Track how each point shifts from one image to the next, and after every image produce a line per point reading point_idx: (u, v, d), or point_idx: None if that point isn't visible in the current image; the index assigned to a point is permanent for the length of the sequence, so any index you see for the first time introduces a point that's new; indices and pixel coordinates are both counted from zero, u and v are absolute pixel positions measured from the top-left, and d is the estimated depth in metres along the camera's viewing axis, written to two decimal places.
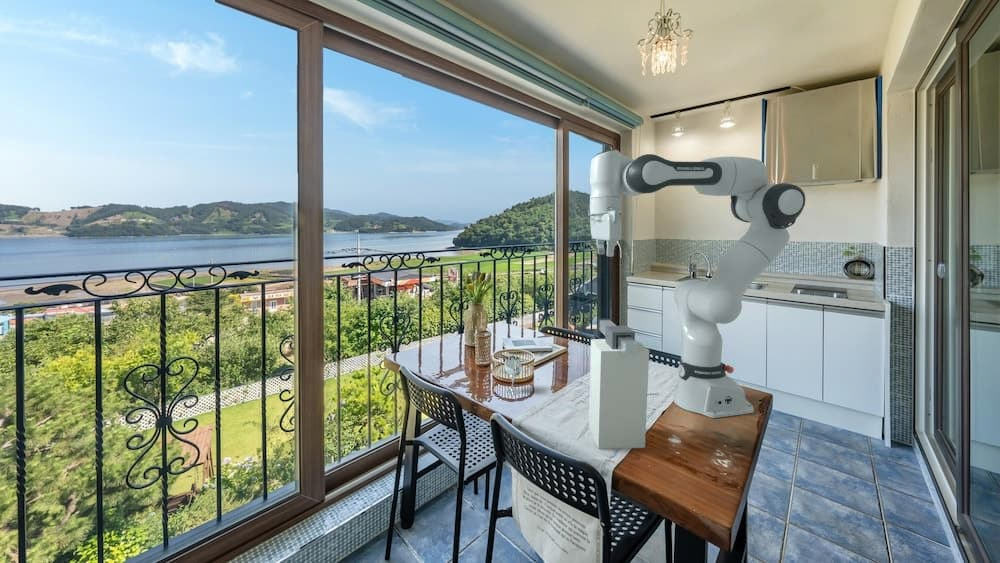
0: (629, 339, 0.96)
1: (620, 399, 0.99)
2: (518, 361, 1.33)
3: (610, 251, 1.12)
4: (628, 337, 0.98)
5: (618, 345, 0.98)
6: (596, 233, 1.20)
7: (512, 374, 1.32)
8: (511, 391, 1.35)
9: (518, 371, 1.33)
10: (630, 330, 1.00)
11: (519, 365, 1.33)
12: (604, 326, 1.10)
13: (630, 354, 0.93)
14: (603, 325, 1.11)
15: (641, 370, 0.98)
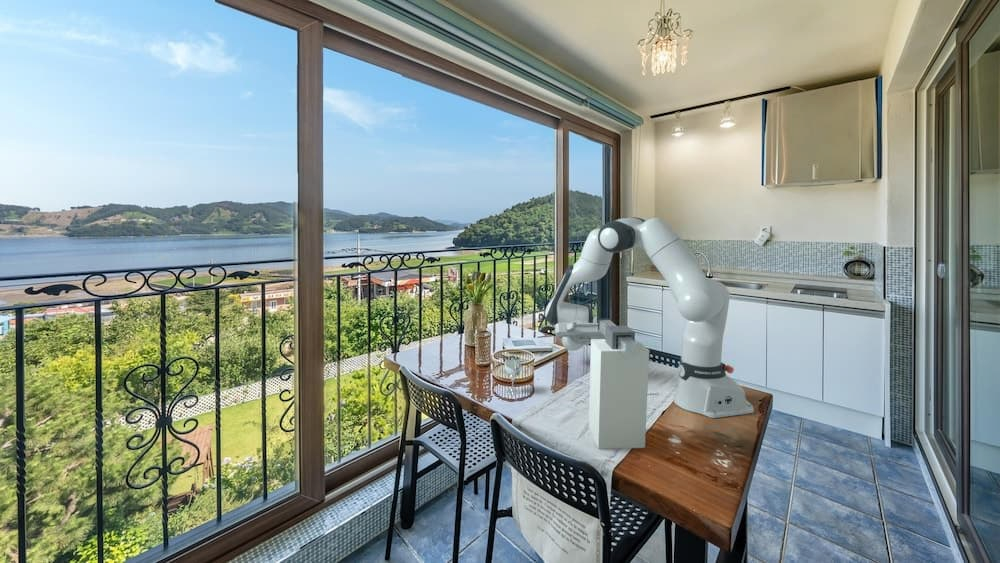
0: (629, 339, 0.96)
1: (620, 399, 0.99)
2: (518, 361, 1.33)
3: (571, 325, 1.35)
4: (628, 337, 0.98)
5: (618, 345, 0.98)
6: (593, 333, 1.40)
7: (512, 374, 1.32)
8: (511, 391, 1.35)
9: (518, 371, 1.33)
10: (630, 330, 1.00)
11: (519, 365, 1.33)
12: (604, 326, 1.10)
13: (630, 354, 0.93)
14: (603, 325, 1.11)
15: (641, 370, 0.98)
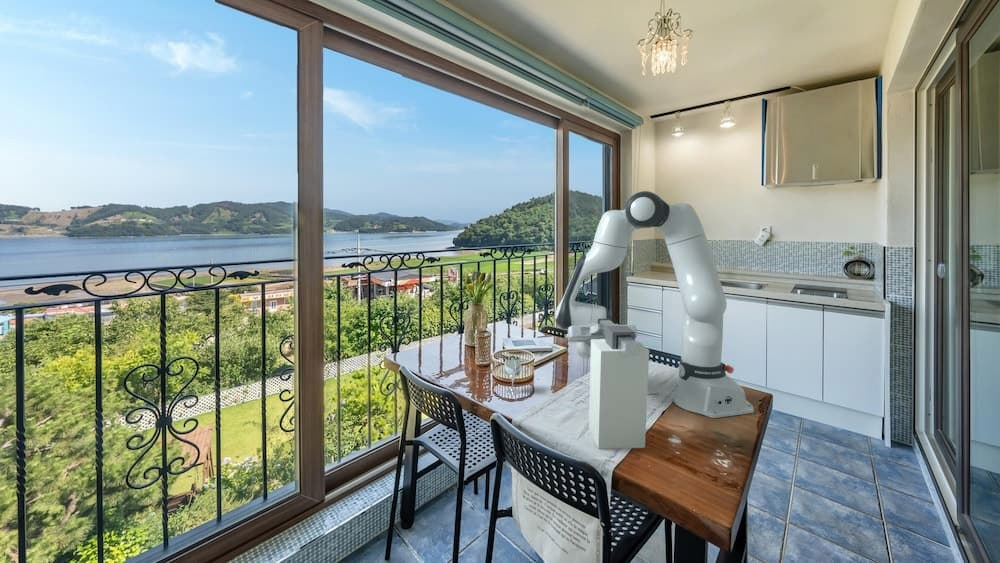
0: (629, 339, 0.96)
1: (620, 399, 0.99)
2: (518, 361, 1.33)
3: (596, 328, 1.13)
4: (628, 337, 0.98)
5: (618, 345, 0.98)
6: None
7: (512, 374, 1.32)
8: (511, 391, 1.35)
9: (518, 371, 1.33)
10: (630, 330, 1.00)
11: (519, 365, 1.33)
12: (604, 326, 1.10)
13: (630, 354, 0.93)
14: (603, 325, 1.11)
15: (641, 370, 0.98)
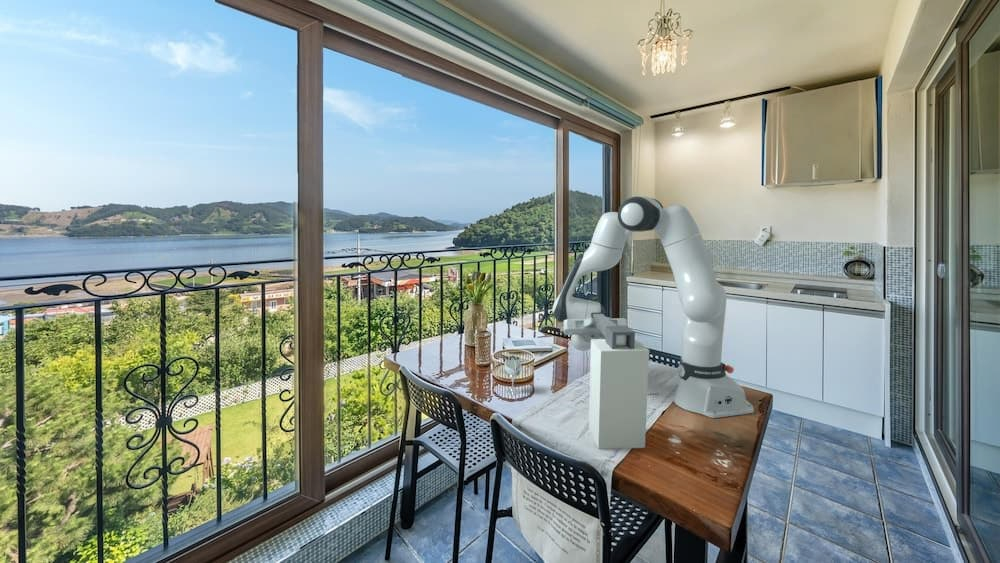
0: None
1: (620, 399, 0.99)
2: (518, 361, 1.33)
3: (589, 321, 1.21)
4: None
5: None
6: None
7: (512, 374, 1.32)
8: (511, 391, 1.35)
9: (518, 371, 1.33)
10: (630, 330, 1.00)
11: (519, 365, 1.33)
12: (596, 319, 1.18)
13: (619, 344, 1.01)
14: (596, 318, 1.19)
15: (641, 370, 0.98)
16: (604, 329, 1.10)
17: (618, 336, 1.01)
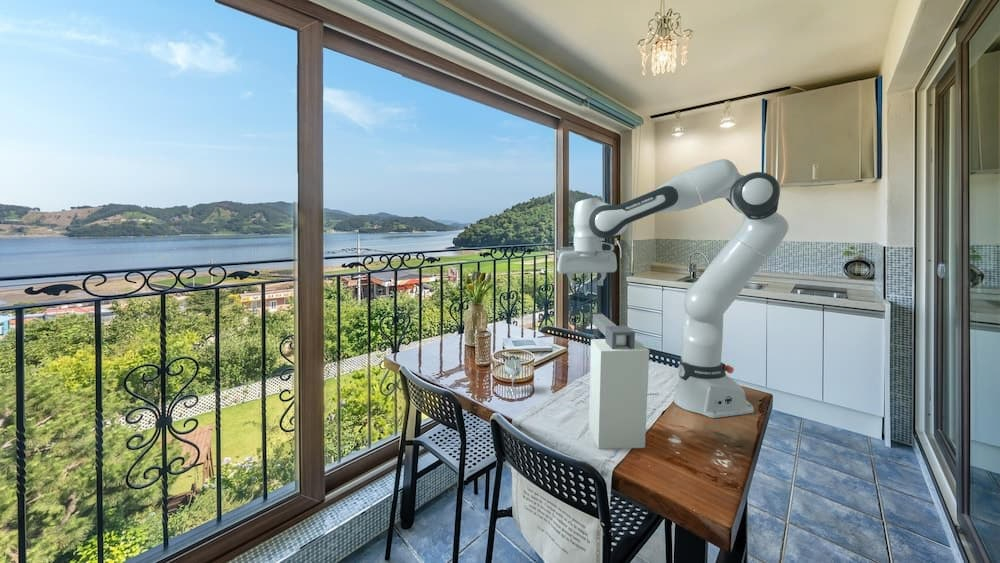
0: None
1: (620, 399, 0.99)
2: (518, 361, 1.33)
3: (571, 282, 1.37)
4: None
5: None
6: None
7: (512, 374, 1.32)
8: (511, 391, 1.35)
9: (518, 371, 1.33)
10: (630, 330, 1.00)
11: (519, 365, 1.33)
12: (596, 319, 1.18)
13: (619, 344, 1.01)
14: (596, 318, 1.19)
15: (641, 370, 0.98)
16: (604, 329, 1.10)
17: (618, 336, 1.01)
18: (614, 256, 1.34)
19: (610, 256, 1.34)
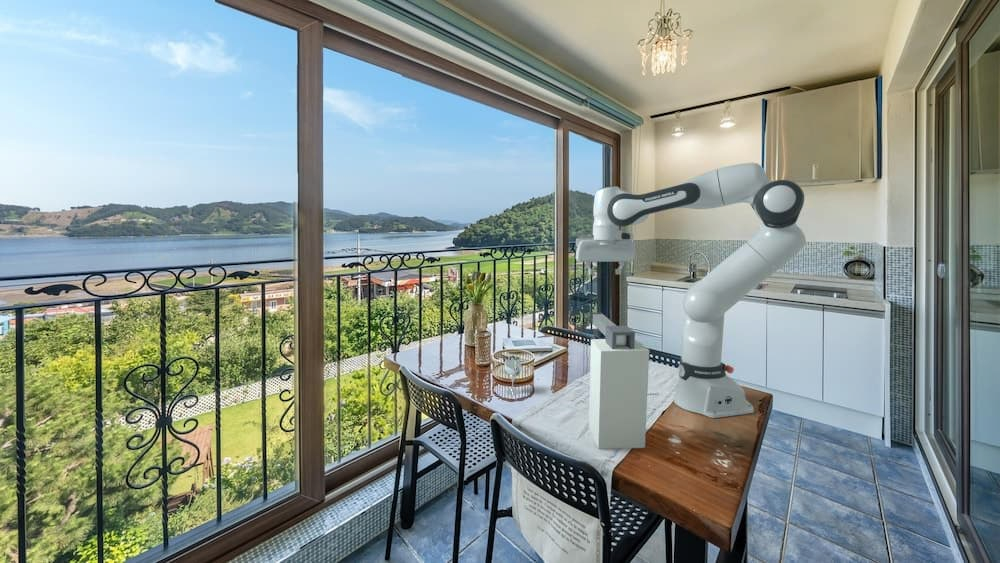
0: None
1: (620, 399, 0.99)
2: (518, 361, 1.33)
3: (589, 270, 1.38)
4: None
5: None
6: None
7: (512, 374, 1.32)
8: (511, 391, 1.35)
9: (518, 371, 1.33)
10: (630, 330, 1.00)
11: (519, 365, 1.33)
12: (596, 319, 1.18)
13: (619, 344, 1.01)
14: (596, 318, 1.19)
15: (641, 370, 0.98)
16: (604, 329, 1.10)
17: (618, 336, 1.01)
18: (633, 245, 1.35)
19: (629, 245, 1.35)
